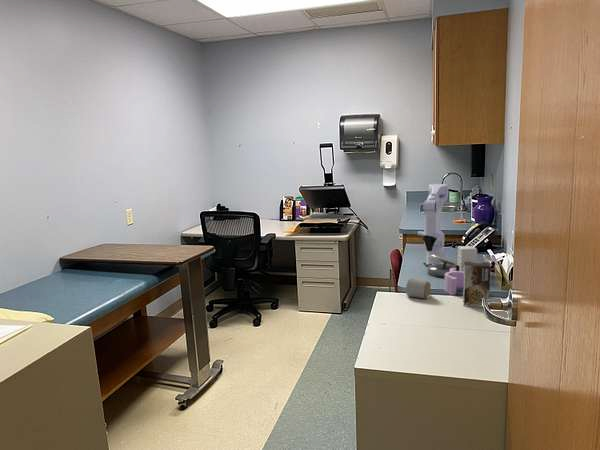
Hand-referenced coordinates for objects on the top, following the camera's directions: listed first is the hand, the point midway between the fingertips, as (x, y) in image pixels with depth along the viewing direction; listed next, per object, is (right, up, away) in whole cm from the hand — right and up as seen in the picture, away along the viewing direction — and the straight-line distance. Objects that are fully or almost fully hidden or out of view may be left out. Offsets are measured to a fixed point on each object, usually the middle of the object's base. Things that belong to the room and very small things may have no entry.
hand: (429, 251), depth 216 cm
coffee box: (+2, -18, -51) cm, 54 cm away
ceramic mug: (-16, -16, -40) cm, 46 cm away
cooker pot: (+4, -11, -7) cm, 13 cm away
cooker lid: (+4, -4, -7) cm, 10 cm away
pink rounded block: (+4, -15, -31) cm, 34 cm away
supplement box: (+17, -11, -4) cm, 20 cm away
